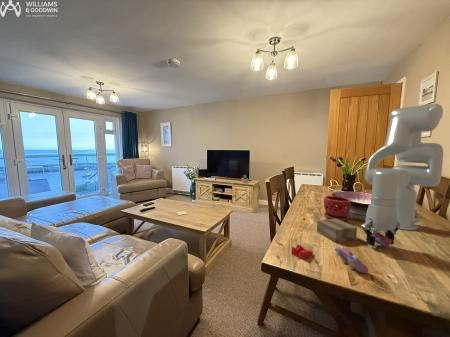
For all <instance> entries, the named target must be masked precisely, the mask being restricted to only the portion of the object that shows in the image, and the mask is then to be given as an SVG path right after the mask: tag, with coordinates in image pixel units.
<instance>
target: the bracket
mask: <svg viewBox="0 0 450 337" xmlns="http://www.w3.org/2000/svg"><path fill="white" fill-rule="evenodd" d="M313 253H314V251H313V250H310V249H306V248H305V247H303V246H302V245H301V244H296V246H295V247H294V246H292V247H291V253H290V254H291V255H292V256H294V257H296V258H298V259H300V260H302V261H304V260H306V259H307V258H308V257H310V256H312V255H313Z"/></svg>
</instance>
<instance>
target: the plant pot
mask: <svg viewBox="0 0 450 337" xmlns="http://www.w3.org/2000/svg"><path fill="white" fill-rule="evenodd" d="M351 205H352V200H351V199H349V198H346V197H342V196H335V195H326V196H324V197H323V207H324V211H325V212H324V214H323V215H324V216H325V217H326V218H327V219H339V220H341V221H343V222H345V221H347V220H348V218H349V217H348V215H349V213H350V210H351Z"/></svg>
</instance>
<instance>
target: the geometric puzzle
mask: <svg viewBox="0 0 450 337" xmlns="http://www.w3.org/2000/svg"><path fill="white" fill-rule="evenodd" d="M372 231H373V230H372V229H371V231H370V232H371V233H372ZM385 232H387V231H386V230H385V231H382V233H381V231H377V232H376V233H375V235H374V237H375V246H373V248H380V246H382V248H384V249H386V250H387V249H388V248H389V247H390V246H391V245H392V244H391V243H392V241H393V240H391V239H390V238H387V235H386V237H385ZM377 245H378V246H377Z"/></svg>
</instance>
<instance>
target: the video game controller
mask: <svg viewBox="0 0 450 337" xmlns="http://www.w3.org/2000/svg"><path fill="white" fill-rule="evenodd" d="M334 251H335V255H336V256H338V257H340V259H341V261H342V262H343V263H344V264H345V265H347V266H348V268H350V269H351V270H354V269H355V270H357V271H358V272H360V273H362V274H368V273H369V268H368V267H367V265H365V264H364V263H363V262H361V260H360V259H359V258H358V257H357V256H356V255H355V254H354V253H353V252H352V250H351V249H348V248H345V247H343V245H342V246H337V247H335V249H334Z"/></svg>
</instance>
